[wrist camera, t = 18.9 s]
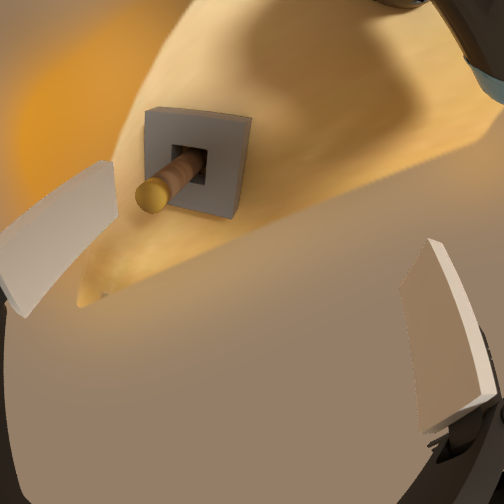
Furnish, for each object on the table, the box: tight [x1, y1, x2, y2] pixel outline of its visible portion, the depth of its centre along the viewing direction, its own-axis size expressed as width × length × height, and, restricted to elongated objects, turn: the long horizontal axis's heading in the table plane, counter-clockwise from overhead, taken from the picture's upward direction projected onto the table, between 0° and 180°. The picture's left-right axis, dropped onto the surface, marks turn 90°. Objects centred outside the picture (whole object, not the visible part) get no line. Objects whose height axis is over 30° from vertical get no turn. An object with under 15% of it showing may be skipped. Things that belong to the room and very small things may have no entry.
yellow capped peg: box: [135, 147, 208, 214], centre depth 38 cm, size 4×4×16 cm
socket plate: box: [144, 107, 252, 219], centre depth 42 cm, size 16×16×4 cm
